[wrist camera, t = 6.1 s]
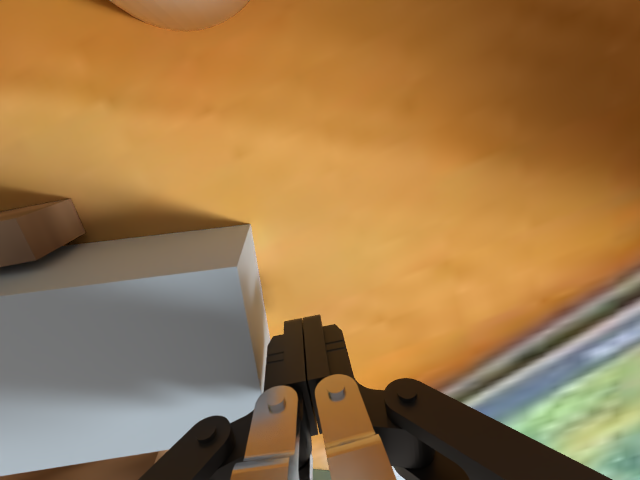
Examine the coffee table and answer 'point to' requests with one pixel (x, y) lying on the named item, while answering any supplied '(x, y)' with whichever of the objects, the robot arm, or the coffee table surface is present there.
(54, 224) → the display bay
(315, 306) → the coffee table surface
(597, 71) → the coffee table surface
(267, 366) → the robot arm
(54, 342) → the carton
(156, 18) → the white capsule shape
